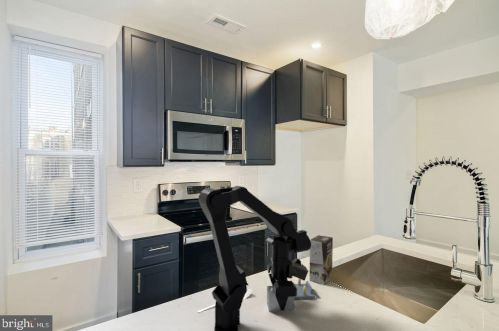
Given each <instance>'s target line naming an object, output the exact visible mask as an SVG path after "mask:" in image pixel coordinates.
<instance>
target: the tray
mask: <svg viewBox="0 0 499 331" xmlns="http://www.w3.org/2000/svg"><path fill="white" fill-rule="evenodd" d="M288 279H289V278H287V280H288ZM288 281H289V280H288ZM301 281H302V280H301V279H300V278H297V283H294V284H295V286H296V288H297V296H295V300H305V299H307V300H308V299H309V300H310V299H314V300H315V299H316V298H317V296H316V295H315V292H314V289H313V286H311V284H310V282H309V280H308V281H307V280H305V283H302V282H301Z"/></svg>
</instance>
